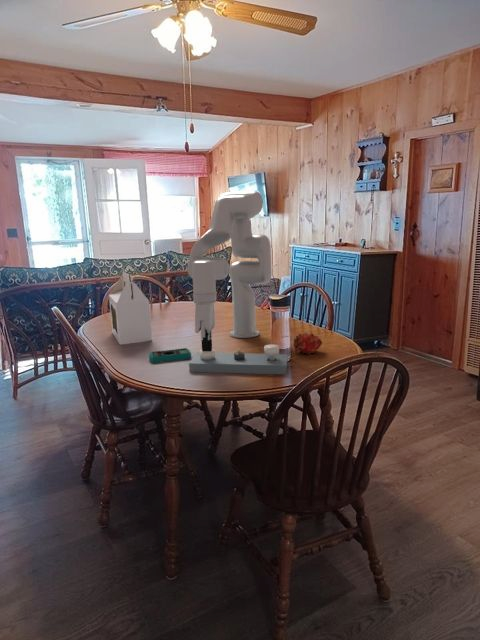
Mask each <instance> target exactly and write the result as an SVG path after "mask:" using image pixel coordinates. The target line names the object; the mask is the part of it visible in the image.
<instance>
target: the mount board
mask: <svg viewBox="0 0 480 640" xmlns="http://www.w3.org/2000/svg"><path fill="white" fill-rule="evenodd" d="M234 353H235V352H215V358H214V359H210V360H203V359H201V358H200V352H196V354H195V355H194V356H193V358H191V359H190V362H189V363H188V367H189V371H188V372H189V373H215V374H217V373H222V374H223V373H224V374H254V375H257V374H258V375H263V374H264V375H286V374H287V369H288V359H289V358H288V354H287V353H279V355H276V356H275V361H269V356H267V355H265V354H264V353H245V352H244V353H245V359H244V360H235V359H234Z"/></svg>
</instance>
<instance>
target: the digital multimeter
mask: <svg viewBox="0 0 480 640" xmlns="http://www.w3.org/2000/svg"><path fill="white" fill-rule="evenodd" d="M148 359H149V362H150V363H152V364H158V362H159V363H165V362H167V363H168V362H173V361H182V360H183V361H184V360H192V353H191V350H190V349H188V348H187V347H185V348H175V349H168V350H167V349H166V350H159V351H158V350H156V351H150V352H149V355H148Z"/></svg>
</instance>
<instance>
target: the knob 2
mask: <svg viewBox="0 0 480 640" xmlns="http://www.w3.org/2000/svg"><path fill="white" fill-rule="evenodd" d="M263 354H265V355H267V356H269V361H275V356H276V355H279V354H280V346H279V345H278V344H275V343H274V344H272V343H271V344H265V345H264V347H263Z"/></svg>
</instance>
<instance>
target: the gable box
mask: <svg viewBox="0 0 480 640" xmlns="http://www.w3.org/2000/svg"><path fill="white" fill-rule="evenodd" d="M134 279H135V276H132V275H131V274H130V273H128V272H127V271H125V270H122V277H120V278H118V280H117V281H116V283H115V284H114V286H113V288H112V290H111V291H110V293H109V295H108V301H109V312H110V321H111V331H112V332H111V333H112V335H113V336H114V337H115V339H116V341H117V342H118V344H119V345H120V346H122V345H130V344H131V343H132V344H138V343H139V344H140V343H144V342H152V341H153V336H152V335H153V334H152V322H151V310H150V308H151V307H150V300H149V299H148V298H147V296H146V295H145V294H144V293H143V291H142V290H141V289H140V288H139V286H138V285H137V284H136V283H135V282H134Z"/></svg>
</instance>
